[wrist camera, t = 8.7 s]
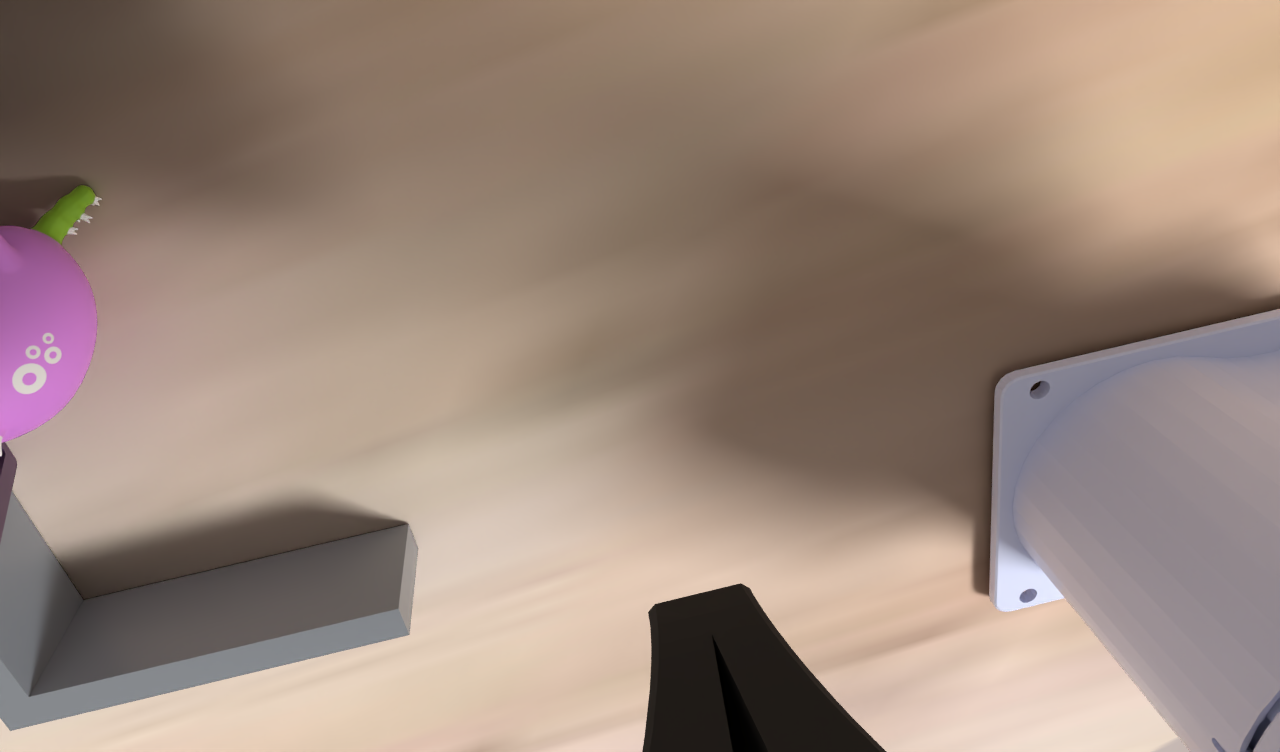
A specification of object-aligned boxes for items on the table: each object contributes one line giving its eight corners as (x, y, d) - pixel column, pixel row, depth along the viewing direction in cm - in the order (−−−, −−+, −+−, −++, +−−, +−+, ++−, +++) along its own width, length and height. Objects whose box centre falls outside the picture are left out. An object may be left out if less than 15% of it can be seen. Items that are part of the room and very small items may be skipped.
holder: (166, -100, 15) (101, -97, 13) (418, 548, 23) (409, 634, 20) (-363, 5, 15) (-542, 30, 12) (66, 631, 22) (10, 730, 20)
